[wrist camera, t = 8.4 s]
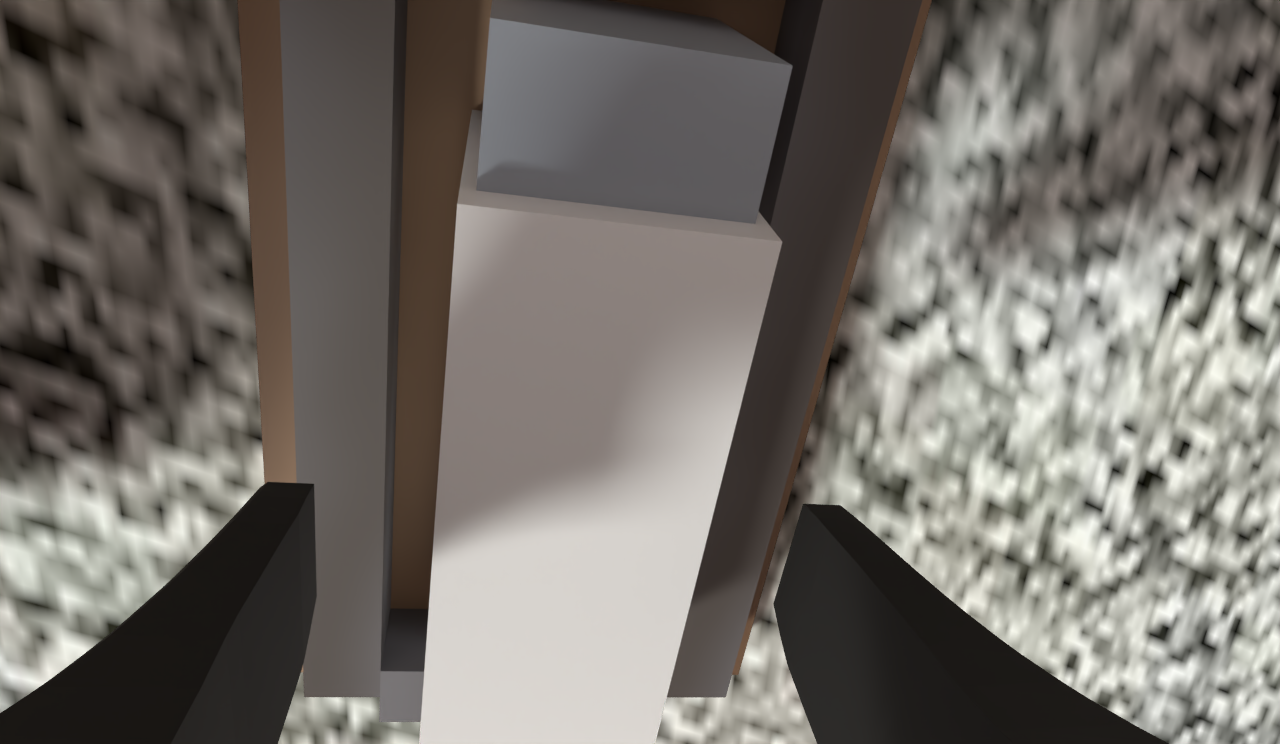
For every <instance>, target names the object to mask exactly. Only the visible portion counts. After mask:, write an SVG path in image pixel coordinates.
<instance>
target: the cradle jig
mask: <svg viewBox="0 0 1280 744" xmlns="http://www.w3.org/2000/svg"><path fill="white" fill-rule="evenodd" d="M237 1H238V18H239V36H240V54H241V72H242V89H243V107H244V125H245V143H246V160H247V178H248V196H249V213H250V231H251V249H252V267H253V284H254V302H255V320H256V338H257V355H258V373H259V391H260V409H261V426H262V444H263V462H264V480H265V484H266V483H267V482H285V483H309V484H314V499H315V541H316V583H317V598H316V603H315V608H314V613H313V619H312V624H311V629H310V634H309V639H308V644H307V649H306V654H305V659H304V663H303V666H302V670H301V672H303V676H304V697H380V718H379V722H421V711H422V697H423V682H424V668H425V654H426V640H427V625H428V611H429V597H430V583H431V569H432V554H433V540H434V526H435V512H436V498H437V483H438V469H439V455H440V441H441V426H442V412H443V398H444V384H445V370H446V355H447V341H448V327H449V313H450V298H451V284H452V270H453V256H454V242H455V227H456V213H457V202H458V195H459V189H460V183H461V176H462V170H463V164H464V157H465V151H466V145H467V138H468V132H469V125H470V119H471V113H472V110H480V111H483V99H484V86H485V74H486V62H487V49H488V37H489V24H490V14H491V6H492V0H237ZM608 1H614V2H620V3H626V4H632V5H638V6H644V7H650V8H656V9H662V10H668V11H674V12H680V13H686V14H692V15H698V16H704V17H710V18H716V19H718V20H720V21H721V22H723V23H724V24H726V25H728V26H729V27H731V28H733V29H734V30H736V31H737V32H739V33H741V34H742V35H744V36H745V37H747V38H749V39H750V40H752V41H754V42H755V43H757V44H758V45H760V46H762V47H763V48H765V49H766V50H768V51H770V52H771V53H773V54H775V55H776V56H778V57H779V58H781V59H783V60H784V61H786V62H787V63H789V64H791V65H792V66H793V67H792V71H791V75H790V80H789V84H788V88H787V92H786V96H785V101H784V105H783V109H782V113H781V118H780V122H779V126H778V130H777V135H776V139H775V143H774V147H773V151H772V156H771V160H770V164H769V168H768V173H767V177H766V181H765V185H764V190H763V194H762V198H761V202H760V206H759V212H760V214H761V215H762V216H763V218H764V219H765V220H766V221H767V223H768V224H769V225H770V227H771V228H772V229H773V230H774V232H775V233H776V234H777V236H778V237H779V238H780V239H781V241H782V245H781V249H780V253H779V257H778V261H777V265H776V269H775V273H774V277H773V281H772V285H771V289H770V293H769V297H768V300H767V304H766V308H765V312H764V316H763V320H762V324H761V328H760V332H759V336H758V340H757V344H756V348H755V352H754V356H753V360H752V363H751V367H750V371H749V375H748V379H747V383H746V387H745V391H744V395H743V399H742V403H741V407H740V411H739V415H738V419H737V423H736V426H735V430H734V434H733V438H732V442H731V446H730V450H729V454H728V458H727V462H726V466H725V470H724V474H723V478H722V482H721V486H720V489H719V493H718V497H717V501H716V505H715V509H714V513H713V517H712V521H711V525H710V529H709V533H708V537H707V541H706V545H705V549H704V552H703V556H702V560H701V564H700V568H699V572H698V576H697V580H696V584H695V588H694V592H693V596H692V600H691V604H690V608H689V612H688V615H687V619H686V623H685V627H684V631H683V635H682V639H681V643H680V647H679V651H678V655H677V659H676V663H675V667H674V671H673V675H672V678H671V682H670V686H669V690H668V694H667V697H726V694H727V690H728V687H729V683H730V679H731V676H732V675H738V674H739V670H740V667H741V663H742V660H743V656H744V653H745V649H746V646H747V642H748V639H749V635H750V632H751V628H752V625H753V621H754V618H755V615H756V611H757V608H758V604H759V601H760V597H761V594H762V590H763V587H764V583H765V580H766V576H767V573H768V569H769V566H770V562H771V559H772V555H773V552H774V548H775V545H776V541H777V538H778V534H779V531H780V527H781V524H782V520H783V517H784V514H785V510H786V507H787V503H788V500H789V496H790V493H791V489H792V486H793V482H794V479H795V475H796V472H797V468H798V465H799V461H800V458H801V454H802V451H803V447H804V444H805V440H806V437H807V433H808V430H809V426H810V423H811V419H812V416H813V413H814V409H815V406H816V402H817V399H818V395H819V392H820V388H821V385H822V381H823V378H824V374H825V371H826V367H827V364H828V360H829V357H830V353H831V350H832V346H833V343H834V339H835V336H836V332H837V329H838V325H839V322H840V319H841V315H842V312H843V308H844V305H845V301H846V298H847V294H848V291H849V287H850V284H851V280H852V277H853V273H854V270H855V266H856V263H857V259H858V256H859V252H860V249H861V245H862V242H863V238H864V235H865V231H866V228H867V224H868V221H869V218H870V214H871V211H872V207H873V204H874V200H875V197H876V193H877V190H878V186H879V183H880V179H881V176H882V172H883V169H884V165H885V162H886V158H887V155H888V151H889V148H890V144H891V141H892V137H893V134H894V130H895V127H896V123H897V120H898V117H899V113H900V110H901V106H902V103H903V99H904V96H905V92H906V89H907V85H908V82H909V78H910V75H911V71H912V68H913V64H914V61H915V57H916V54H917V50H918V47H919V43H920V40H921V36H922V33H923V29H924V26H925V23H926V19H927V16H928V12H929V9H930V5H931V2H932V0H608Z"/></svg>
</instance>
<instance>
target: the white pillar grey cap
mask: <svg viewBox="0 0 1280 744" xmlns="http://www.w3.org/2000/svg"><path fill="white" fill-rule="evenodd" d="M792 67H793V66H792V65H791V64H789V63H787V62H786V61H784V60H783V59H781V58H779V57H778V56H776V55H775V54H773V53H771V52H770V51H768V50H766V49H765V48H763V47H762V46H760V45H758V44H757V43H755V42H754V41H752V40H750V39H749V38H747V37H745V36H744V35H742V34H741V33H739V32H737V31H736V30H734V29H733V28H731V27H729V26H728V25H726V24H724V23H723V22H721V21H720V20H718V19H716V18H710V17H704V16H698V15H692V14H686V13H680V12H674V11H668V10H662V9H656V8H650V7H644V6H638V5H632V4H626V3H620V2H614V1H608V0H492V6H491V14H490V24H489V37H488V49H487V62H486V74H485V86H484V99H483V111H480V110H472V113H471V119H470V125H469V132H468V138H467V145H466V151H465V157H464V164H463V170H462V176H461V183H460V189H459V195H458V202H457V213H456V227H455V242H454V256H453V270H452V284H451V298H450V313H449V327H448V341H447V355H446V370H445V384H444V398H443V412H442V426H441V441H440V455H439V469H438V483H437V498H436V512H435V526H434V540H433V554H432V569H431V583H430V597H429V611H428V625H427V640H426V654H425V668H424V682H423V697H422V711H421V725H420V739H419V744H655V742H656V738H657V734H658V730H659V726H660V722H661V718H662V714H663V710H664V706H665V702H666V698H667V694H668V690H669V686H670V682H671V678H672V675H673V671H674V667H675V663H676V659H677V655H678V651H679V647H680V643H681V639H682V635H683V631H684V627H685V623H686V619H687V615H688V612H689V608H690V604H691V600H692V596H693V592H694V588H695V584H696V580H697V576H698V572H699V568H700V564H701V560H702V556H703V552H704V549H705V545H706V541H707V537H708V533H709V529H710V525H711V521H712V517H713V513H714V509H715V505H716V501H717V497H718V493H719V489H720V486H721V482H722V478H723V474H724V470H725V466H726V462H727V458H728V454H729V450H730V446H731V442H732V438H733V434H734V430H735V426H736V423H737V419H738V415H739V411H740V407H741V403H742V399H743V395H744V391H745V387H746V383H747V379H748V375H749V371H750V367H751V363H752V360H753V356H754V352H755V348H756V344H757V340H758V336H759V332H760V328H761V324H762V320H763V316H764V312H765V308H766V304H767V300H768V297H769V293H770V289H771V285H772V281H773V277H774V273H775V269H776V265H777V261H778V257H779V253H780V249H781V245H782V241H781V239H780V238H779V237H778V236H777V234H776V233H775V232H774V230H773V229H772V228H771V227H770V225H769V224H768V223H767V221H766V220H765V219H764V218H763V216H762V215H761V214H760V212H759V206H760V202H761V198H762V194H763V190H764V185H765V181H766V177H767V173H768V168H769V164H770V160H771V156H772V151H773V147H774V143H775V139H776V135H777V130H778V126H779V122H780V118H781V113H782V109H783V105H784V101H785V96H786V92H787V88H788V84H789V80H790V75H791V71H792Z"/></svg>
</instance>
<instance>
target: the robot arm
mask: <svg viewBox="0 0 1280 744" xmlns="http://www.w3.org/2000/svg"><path fill="white" fill-rule="evenodd" d="M316 598H317V583H316V541H315V499H314V484H309V483H285V482H267V483H266V484H264V485H263V486H262V487H260V488H259V489H258V490H257V491H256V493H255V494H254V495H253V496H252V497H251V498H250V499H249V500H248V501H247V503H246V504H245V505H244V506H243V507H242V508H241V509H240V510H239V511H238V512H237V514H236V515H235V516H234V517H233V518H232V519H231V520H230V521H229V522H228V523H227V524H226V525H225V526H224V527H223V529H222V530H221V531H220V532H219V533H218V534H217V535H216V536H215V537H214V538H213V539H212V540H211V541H210V542H209V543H208V544H207V545H206V546H205V547H204V548H203V549H202V550H201V551H200V552H199V553H198V554H197V555H196V556H195V557H194V558H193V559H192V560H191V561H190V562H189V563H188V564H187V565H186V566H185V567H184V568H183V569H182V570H181V571H180V572H179V573H178V574H177V575H176V576H175V577H174V578H172V579H171V580H170V581H169V582H168V583H167V584H166V585H165V586H164V587H163V588H162V589H161V590H159V591H158V592H157V593H156V594H155V595H154V596H153V597H151V598H150V599H149V600H148V601H147V602H146V603H145V604H144V605H142V606H141V607H140V608H139V609H138V610H137V611H136V612H134V613H133V614H132V615H131V616H130V617H129V618H128V619H127V620H125V621H124V622H123V623H122V624H121V625H120V626H118V627H117V628H116V629H115V630H114V631H112V632H111V633H110V634H109V635H108V636H106V637H105V638H104V639H103V640H101V641H100V642H99V643H98V644H96V645H95V646H94V647H93V648H91V649H90V650H89V651H88V652H86V653H85V654H84V655H82V656H81V657H80V658H78V659H77V660H76V661H74V662H73V663H72V664H70V665H69V666H68V667H66V668H65V669H64V670H62V671H61V672H60V673H58V674H57V675H56V676H54V677H53V678H52V679H50V680H49V681H48V682H46V683H45V684H43V685H42V686H40V687H39V688H38V689H36V690H35V691H33V692H32V693H30V694H29V695H27V696H26V697H24V698H23V699H21V700H20V701H18V702H17V703H15V704H14V705H12V706H11V707H9V708H8V709H6V710H4V711H3V712H1V713H0V744H278V741H279V738H280V735H281V732H282V729H283V726H284V723H285V719H286V716H287V713H288V710H289V707H290V704H291V701H292V698H293V695H294V692H295V689H296V685H297V682H298V679H299V676H300V673H301V670H302V666H303V663H304V659H305V654H306V649H307V644H308V639H309V634H310V629H311V624H312V619H313V613H314V608H315V603H316ZM774 608H775V613H776V618H777V622H778V627H779V631H780V636H781V640H782V644H783V648H784V652H785V656H786V660H787V664H788V667H789V670H790V672H791V675H792V678H793V681H794V683H795V686H796V689H797V691H798V694H799V697H800V699H801V702H802V705H803V707H804V710H805V713H806V715H807V718H808V721H809V723H810V726H811V728H812V731H813V734H814V736H815V739H816V741H817V744H1168V743H1167V742H1165V741H1163V740H1161V739H1159V738H1157V737H1155V736H1153V735H1152V734H1150V733H1148V732H1146V731H1144V730H1142V729H1140V728H1139V727H1137V726H1135V725H1133V724H1131V723H1130V722H1128V721H1126V720H1124V719H1123V718H1121V717H1119V716H1118V715H1116V714H1114V713H1112V712H1111V711H1109V710H1107V709H1106V708H1104V707H1102V706H1100V705H1099V704H1097V703H1095V702H1094V701H1092V700H1090V699H1088V698H1087V697H1085V696H1084V695H1082V694H1080V693H1079V692H1077V691H1076V690H1074V689H1072V688H1071V687H1069V686H1068V685H1066V684H1064V683H1063V682H1061V681H1060V680H1058V679H1057V678H1055V677H1054V676H1052V675H1051V674H1049V673H1048V672H1046V671H1045V670H1044V669H1042V668H1041V667H1039V666H1038V665H1036V664H1035V663H1033V662H1032V661H1030V660H1029V659H1027V658H1026V657H1024V656H1023V655H1021V654H1020V653H1019V652H1017V651H1016V650H1014V649H1013V648H1012V647H1010V646H1009V645H1007V644H1006V643H1005V642H1003V641H1002V640H1001V639H999V638H998V637H997V636H995V635H994V634H993V633H992V632H990V631H989V630H988V629H986V628H985V627H984V626H983V625H981V624H980V623H979V622H977V621H976V620H975V619H974V618H972V617H971V616H970V615H968V614H967V613H966V612H965V611H963V610H962V609H961V608H960V607H958V606H957V605H956V604H955V603H954V602H952V601H951V600H950V599H949V598H947V597H946V596H945V595H944V594H943V593H941V592H940V591H939V590H938V589H937V588H936V587H934V586H933V585H932V584H931V583H930V582H929V581H927V580H926V579H925V578H924V577H923V576H922V575H920V574H919V573H918V572H917V571H916V570H915V569H914V568H912V567H911V566H910V565H909V564H908V563H907V562H906V561H904V560H903V559H902V558H901V557H900V556H899V555H898V554H896V553H895V552H894V551H893V550H892V549H891V548H890V547H889V546H887V545H886V544H885V543H884V542H883V541H882V540H881V539H880V538H878V537H877V536H876V535H875V534H874V533H873V532H872V531H870V530H869V529H868V528H867V527H866V526H865V525H864V524H862V523H861V522H860V521H859V520H858V519H857V518H855V517H854V516H853V515H852V514H850V513H849V512H848V511H847V510H845V509H844V508H843V507H842V506H840V505H817V504H803V506H802V510H801V513H800V516H799V520H798V523H797V527H796V530H795V533H794V537H793V540H792V543H791V547H790V550H789V554H788V557H787V560H786V564H785V567H784V570H783V574H782V577H781V581H780V584H779V587H778V591H777V594H776V597H775V601H774Z"/></svg>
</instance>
